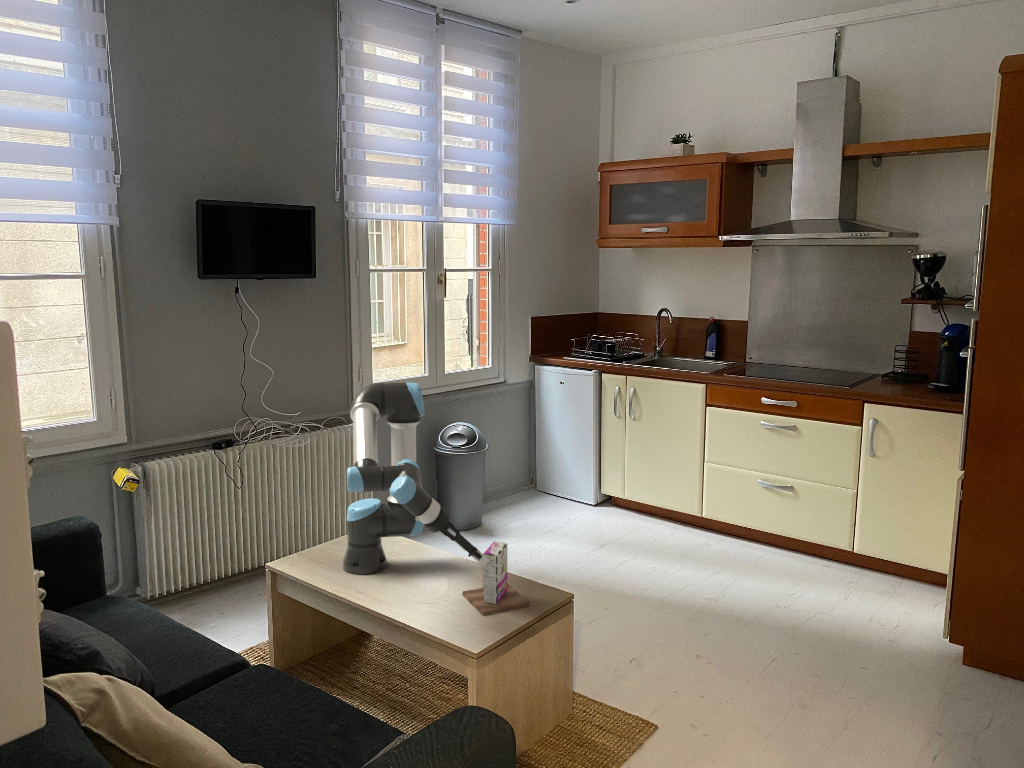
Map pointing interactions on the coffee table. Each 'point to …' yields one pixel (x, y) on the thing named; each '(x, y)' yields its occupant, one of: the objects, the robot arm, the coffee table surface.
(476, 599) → the walnut board
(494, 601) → the candy bar box
